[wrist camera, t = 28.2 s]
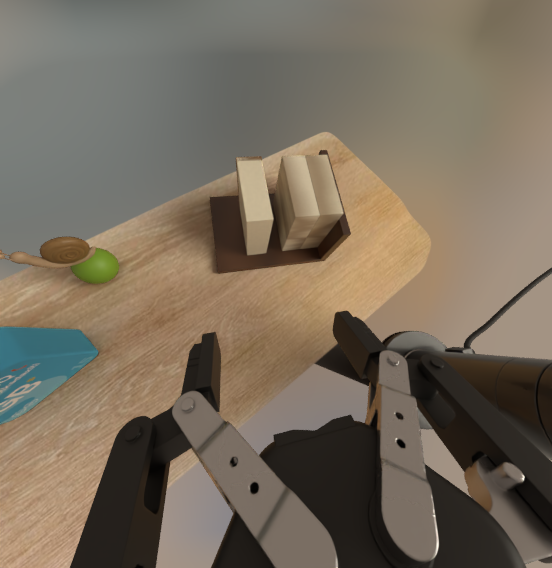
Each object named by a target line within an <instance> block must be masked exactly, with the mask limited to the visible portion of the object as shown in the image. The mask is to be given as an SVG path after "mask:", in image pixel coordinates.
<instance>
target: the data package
mask: <svg viewBox="0 0 552 568" xmlns="http://www.w3.org/2000/svg"><path fill="white" fill-rule="evenodd" d="M97 355H98V350H97V349H96V348H95V347H94V346H93V344H92V343H91V342H90V341H89V340H88V338H87V337H86V336H85V335H84V334H83V333H82V331H81V330H78V329H56V328H32V327H0V425H1V424H4V423H6V422H9V421H12V420H14V419H16V418H18V417H20V416H21V415H23V414H25V413H26V412H28V411H29V410H31V409H32V408H33V407H35V406H36V405H37V404H38V403H40V402H41V401H42V400H43V399H45V398H46V397H47V396H48V395H49V394H51V393H52V392H53V391H54V390H56V389H57V388H58V387H59V386H61V385H62V384H63V383H64V382H66V381H67V380H68V379H69V378H71V377H72V376H73V375H74V374H75V373H77V372H78V371H79V370H80V369H82V368H83V367H84V366H85V365H87V364H88V363H89V362H90V361H92V360H93V359H94V358H95V357H96V356H97Z"/></svg>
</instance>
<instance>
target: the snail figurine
mask: <svg viewBox="0 0 552 568" xmlns="http://www.w3.org/2000/svg"><path fill="white" fill-rule="evenodd" d="M3 254H4V253H2V251H1V250H0V259H4V258H5V256H4V255H7V254H4V255H3ZM40 254H41V256H42V257H43V258H42V257H37V256H31V255H28V254H27V253H25V252H14V253H12V254H11V255H8V256H10V257H9V258H10V259H8V260H11V261H13V262H15V263H19V264H20V263H21V264H29V265H33V266H38V267H45V268H66V267H70V266H71V270H72V272H73V273H74V275H75V276H76V277H77V278H79V279H80V280H82V281H84V282H87V283H93V284H100V283H105V282H108V281H110V280H111V279H113V278H114V277H115V276H116V274H117V273H118V270H119V264H118V261H117V259H116V258H115V256H114V255H113V254H111V253H110V252H108V251H106V250H104V249H100V248H96V247H91V248H90V247H89V245H88V243H86V242H85V241H84V240H82V239H79V238H75V237H58V238H54V239H51V240H49V241H47V242H45V243H44V244H43V245H42V246H41V248H40ZM5 259H6V258H5Z"/></svg>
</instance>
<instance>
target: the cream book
mask: <svg viewBox="0 0 552 568" xmlns="http://www.w3.org/2000/svg"><path fill="white" fill-rule="evenodd" d="M236 168H237V182H238V196H239V208H240V213H241V219H242V226H243V232H244V238H245V245H246V251H247V255H255V254H263V253H266V252H267V247H268V243H269V238H270V233H271V228H272V224H273V214H272V209H271V204H270V199H269V194H268V189H267V184H266V179H265V174H264V169H263V164H262V158H261V156H259V157H236Z"/></svg>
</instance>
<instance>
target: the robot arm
mask: <svg viewBox="0 0 552 568" xmlns="http://www.w3.org/2000/svg"><path fill="white" fill-rule="evenodd" d="M551 273H552V268H550V269H549V270H547V271H546V272H545V273H544V274H542V275H540V276H539V277H538V278H537V279H535V280H534V281H533V282H531V283H530V284H529V285H528V286H527V287H525V288H524V289H523V290H522V291H520V292H519V293H518V294H517V295H516V296H515V297H513V298H512V299H511V300H510V301H509V302H508V303H507V304H506V305H504V306H503V307H502V308H501V309H500V310H499V311H498V312H497V313H496V314H495V315H494V316H493V317H492V318H491V319H490V320H489V321H488V322H486V323H485V324H484V325H483V326H481V327H480V328H479V329H478V330H476V331H475V332H473V333H472V334H471V335H470V336H469V337H468V338H467V339H466V341H465V343H464V348H459V347H452V348H447V349H445V352H443V351H432V350H425V349H413V350H410V351H408V352H407V353H405V354H404V355H403V356H401V355H400V354H398V353H396V352H394V351H390V350H388V349H387V348H386V347H385V346H384V345H383V344H382V342H381V341H380V340H379V339H378V338H377V337H376V336H375V334H374V333H372V331H371V330H370V329H369V328H368V327H367V325H366V324H365V323H364V322H363V321H362V320H360V319H359V318H357V317H353V316H352V315H351V314H350V313H349V312H348V311H342V312H336V313H335V318H334V324H333V335H334V337H335V339H336V340H337V342H338V344H339V345H340V347H341V348H342V350H343V352H344V353H345V355H346V356H347V358H348V359H349V361H350V363H351V364H352V366H353V367H354V369H355V371H356V372H357V374H358V375H359V377H360V378H361V379H365V378H368V379H369V380H370V383H369V393H368V394H369V395H368V407H367V416H366V420H365V423H362V422H358V421H354V420H353V418H352V416H351V415H348V416H344V417H340V418H336V419H333V420H331V421H330V422H328V423H327V424H325V425H324V426H322V427H321V428H319V429H318V430H315V431H310V430H309V431H308V430H291V431H287V432H283V433H279V434H276V435H274V442H272V443H271V444H270V445H268V446H267V447H266V448H265V449H264V450H263V451H262V452H261V454H260V455H258V454H257V453H256V452H255V451H254V449H252V447H251V446H250V445H249V444H248V443H247V442H246V440H245V439H244V438H243V437H242V436H241V435H240V434H239V432H238V431H237V430H236V429H235V428H234V427H233V426H232V425H231V424H230V423H229V422H228V421H227V422H226V421H224V420H223V419H222V417H221V416H220V415H219V414H218V413H217V412H219V409H220V372H221V353H220V347H219V343H218V339H217V335H216V332H213V333H207V334H203V336H202V342H201V343H199V344H194V346H193V347H192V349H191V350H190V353H189V358H188V363H187V368H186V373H185V378H184V383H183V388H182V393H181V396H180V397H179V398H178V399H177V401H176V402H175V404H174V405H173V406H172V407H171V408H170V409H169V410H167V411H165V412H163V413H161V414H160V415H158V416H156V417H154V418H152V419H150V418H149V417H146V416H140V417H137V418H135V419H132V420H131V421H129V422H128V423H127V424H126V425H125V426H123V428H122V429H121V430H120V431H119V433H118V434H117V436H116V438H115V441H114V444H113V447H112V450H111V452H110V455H109V458H108V461H107V464H106V467H105V470H104V472H103V475H102V478H101V481H100V484H99V487H98V489H97V492H96V495H95V498H94V501H93V504H92V507H91V509H90V512H89V515H88V518H87V521H86V524H85V526H84V529H83V532H82V535H81V538H80V541H79V544H78V546H77V549H76V552H75V555H74V558H73V561H72V563H71V566H70V568H156V561H157V553H158V547H159V540H160V532H161V525H162V518H163V511H164V503H165V495H166V489H167V482H168V475H169V467H170V461H171V460H173V459H175V458H176V457H178V456H179V455H181V454H182V453H184V452H186V451H187V450H189V449H190V448H192V450H193V452H194V453H195V455H196V456H197V458H198V459H199V461H200V462H201V464H202V465H203V467H204V468H205V470H206V471H207V473H208V474H209V476H210V477H211V479H212V481H213V482H214V484H215V486H216V487H217V489H218V490H219V492H220V493H221V495H222V496H223V498H224V499H225V501H226V502H227V504H228V505H229V507H230V509H231V510H232V512H233V516H232V518H231V521H230V523H229V526H228V528H227V531H226V533H225V535H224V538H223V540H222V542H221V545H220V547H219V550H218V552H217V555H216V557H215V560H214V562H213V564H212V567H211V568H526V566H525V564H527V563H531V562H534V561H537V560H538V561H541V562H543V563H552V462H551V461H550V460H552V360H548V359H535V358H520V357H507V356H494V355H481V354H475V352H474V350H473V349H471V348H470V345H471V343H472V341H473V340H474V339H475V338H476V337H477V336H479V335H480V334H481V333H483V332H484V331H485V330H487V329H488V328H489V327H490V326H491V325H492V324H493V323H494V322H496V321H497V320H498V319H499V318H500V317H501V316H502V315H503V314H504V313H505V312H506V311H507V310H508V309H509V308H510V307H511V306H512V305H513V304H515V303H516V302H517V301H518V300H519V299H520V298H521V297H522V296H523V295H525V294H526V293H527V292H528V291H529V290H531V289H532V288H533V287H534V286H536V285H537V284H538V283H539V282H541V281H542V280H543V279H545V278H546V277H547V276H549V275H550V274H551ZM417 408H418V409H419V410H420V412H421V413H422V414H423V416H424V417H425V419H426V420H427V421H428V423H429V424H430V425H431V427H432V428H433V429H434V431H435V432H436V434H437V435H438V436H439V438H440V439H441V440H442V442H443V443H444V445H445V446H446V447H447V449H448V450H449V451H450V453H451V454H452V455H453V457H454V458H455V459H456V461H457V462H458V464H459V465H460V466H461V468H462V469H463V471H464V472H465V473H464V476H465V480H466V483H467V486H468V492H469V494H470V496H471V497H472V498H471V497H469V496H468V495H467V494H466V493H464V492H463V491H461V490H460V489H459V488H457V487H456V486H455V485H453V484H452V483H450V482H449V481H448V480H446V479H445V478H443V477H442V476H441V475H439V474H438V473H436V472H435V471H434V470H432V469H431V468H430V467H428V466H427V465H425V463H424V457H423V448H422V441H421V432H420V425H419V417H418V409H417ZM549 459H550V460H549Z"/></svg>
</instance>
